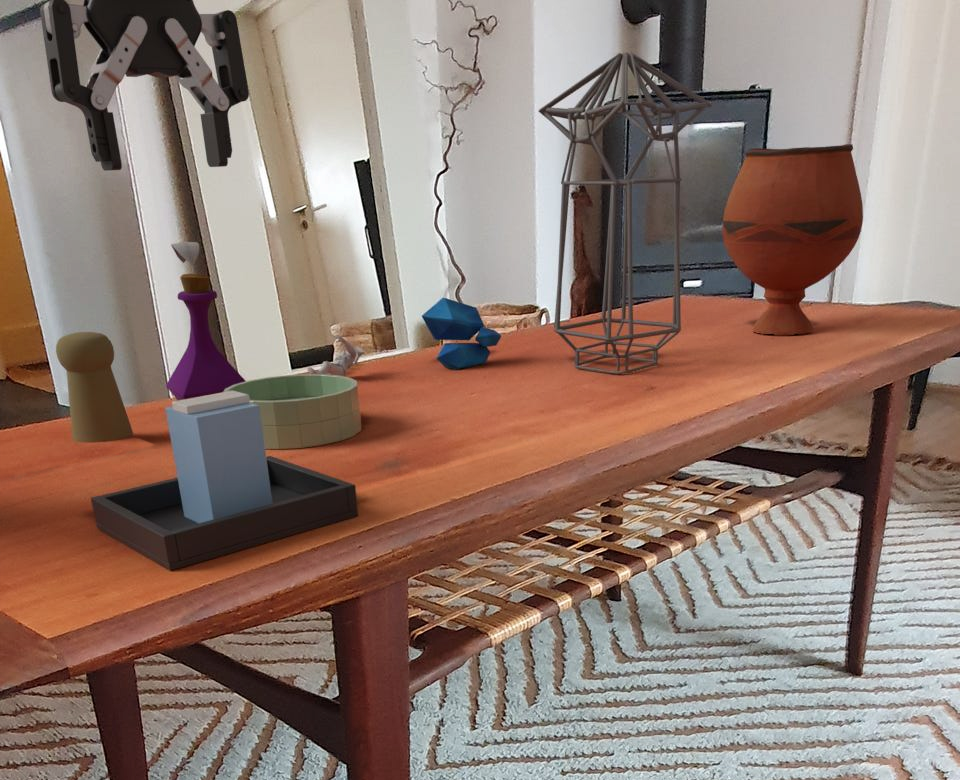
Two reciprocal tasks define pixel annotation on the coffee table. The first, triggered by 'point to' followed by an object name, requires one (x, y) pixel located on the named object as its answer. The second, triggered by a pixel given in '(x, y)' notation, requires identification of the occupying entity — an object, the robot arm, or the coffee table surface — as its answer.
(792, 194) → the goblet
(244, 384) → the bowl
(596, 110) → the geometric lantern
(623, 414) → the coffee table surface
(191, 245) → the perfume bottle
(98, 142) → the robot arm
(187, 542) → the tray
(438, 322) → the crystal
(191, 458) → the carton
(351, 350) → the seated figurine
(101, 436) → the cork
